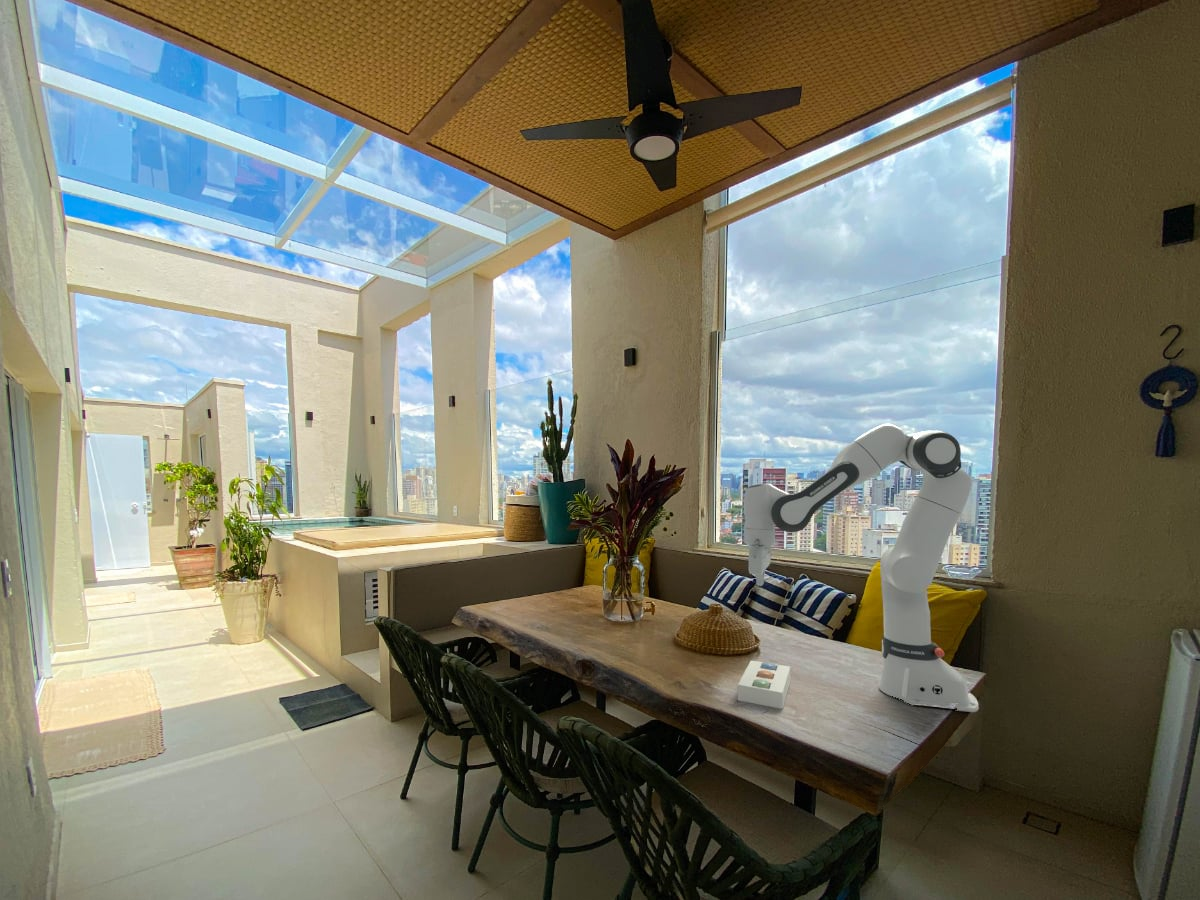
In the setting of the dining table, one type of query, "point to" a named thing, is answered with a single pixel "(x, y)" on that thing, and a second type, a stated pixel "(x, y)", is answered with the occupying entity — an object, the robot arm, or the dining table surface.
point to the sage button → (761, 683)
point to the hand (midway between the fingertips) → (760, 585)
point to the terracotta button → (765, 674)
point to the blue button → (769, 666)
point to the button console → (762, 695)
